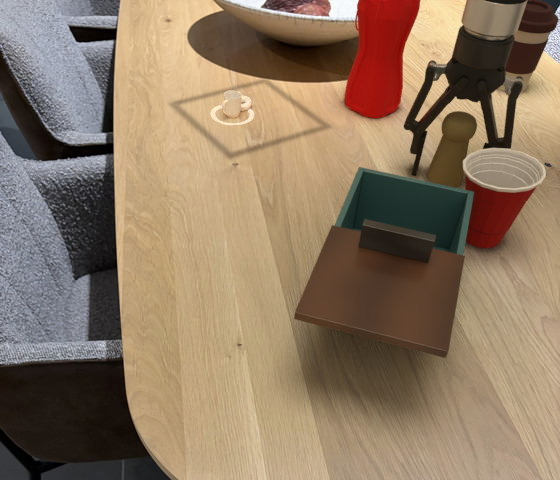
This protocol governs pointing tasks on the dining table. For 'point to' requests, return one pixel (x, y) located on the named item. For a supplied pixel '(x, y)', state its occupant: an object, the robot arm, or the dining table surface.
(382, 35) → the water bottle
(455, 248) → the storage box
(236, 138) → the dining table surface
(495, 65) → the robot arm
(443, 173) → the brown pawn
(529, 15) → the coffee cup
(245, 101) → the teacup and saucer
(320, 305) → the sliding lid
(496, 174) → the plastic cup
